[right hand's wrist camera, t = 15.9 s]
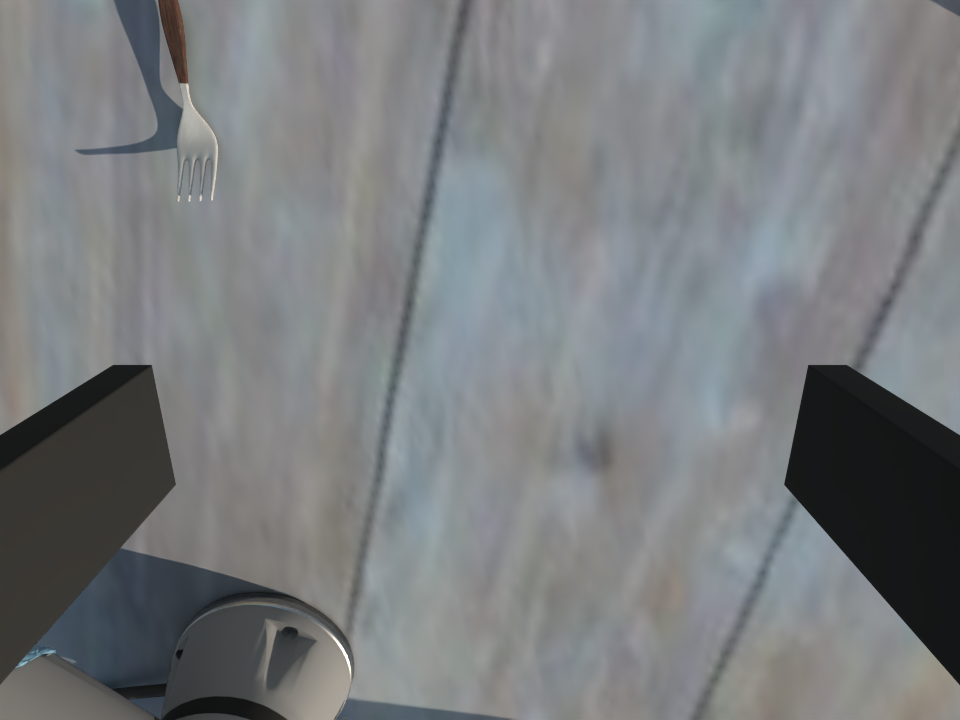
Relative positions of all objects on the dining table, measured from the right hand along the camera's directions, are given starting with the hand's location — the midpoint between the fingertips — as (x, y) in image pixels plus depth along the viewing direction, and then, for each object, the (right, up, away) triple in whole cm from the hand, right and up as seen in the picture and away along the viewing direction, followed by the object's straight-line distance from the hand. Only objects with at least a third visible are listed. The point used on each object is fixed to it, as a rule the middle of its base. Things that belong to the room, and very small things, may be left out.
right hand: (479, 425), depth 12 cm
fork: (-18, +20, +25) cm, 36 cm away
